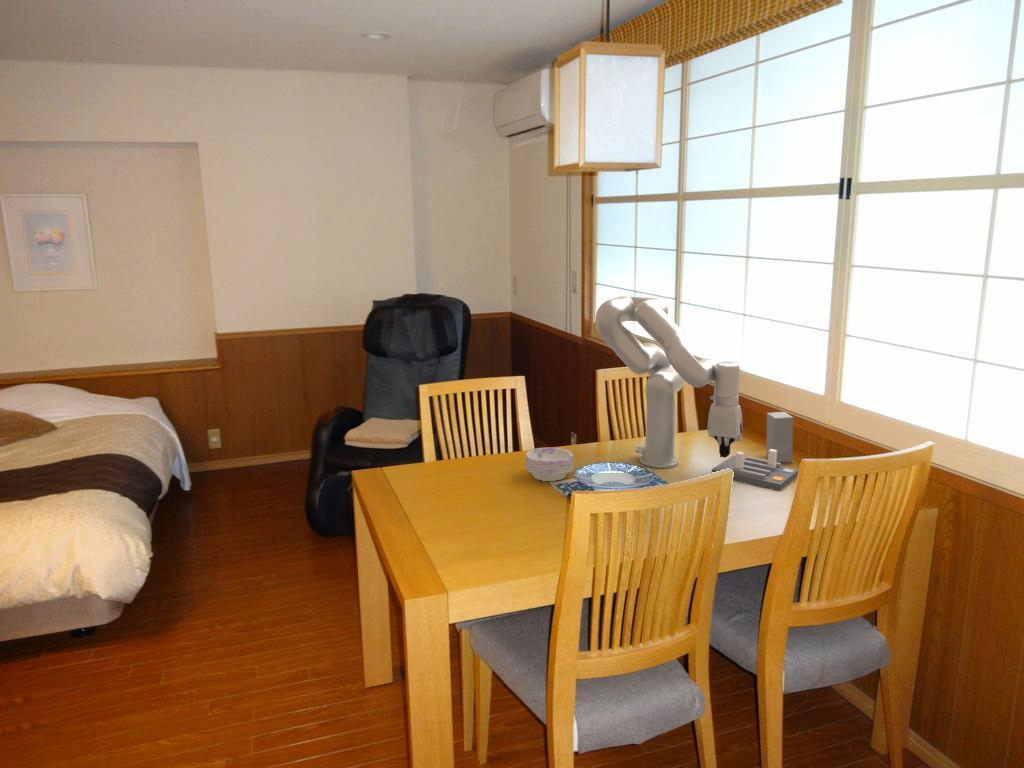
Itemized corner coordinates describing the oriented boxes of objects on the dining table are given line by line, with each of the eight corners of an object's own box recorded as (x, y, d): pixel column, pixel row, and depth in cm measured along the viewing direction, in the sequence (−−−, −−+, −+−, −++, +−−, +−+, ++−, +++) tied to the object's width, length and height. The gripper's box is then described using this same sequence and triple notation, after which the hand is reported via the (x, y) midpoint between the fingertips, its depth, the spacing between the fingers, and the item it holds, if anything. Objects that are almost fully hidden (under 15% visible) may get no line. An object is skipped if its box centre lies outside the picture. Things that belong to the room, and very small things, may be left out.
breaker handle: (767, 467, 237) (768, 450, 236) (769, 465, 239) (770, 448, 238) (773, 468, 236) (774, 451, 235) (775, 466, 238) (777, 450, 236)
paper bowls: (552, 465, 247) (552, 443, 245) (582, 478, 235) (583, 454, 233) (515, 475, 238) (515, 452, 237) (545, 489, 226) (545, 464, 225)
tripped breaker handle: (734, 469, 235) (736, 453, 234) (737, 468, 236) (738, 451, 235) (740, 471, 234) (742, 454, 232) (743, 469, 235) (744, 452, 234)
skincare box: (792, 463, 248) (796, 417, 244) (771, 463, 248) (774, 417, 244) (784, 454, 256) (787, 410, 252) (763, 455, 256) (766, 410, 252)
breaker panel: (711, 475, 237) (711, 465, 236) (733, 461, 250) (733, 452, 249) (779, 490, 224) (780, 480, 223) (798, 475, 236) (799, 465, 236)
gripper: (698, 400, 235) (697, 455, 239) (744, 406, 226) (742, 463, 230) (709, 395, 241) (707, 449, 245) (753, 401, 232) (751, 457, 236)
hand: (724, 456), depth 238 cm, fingers closed
